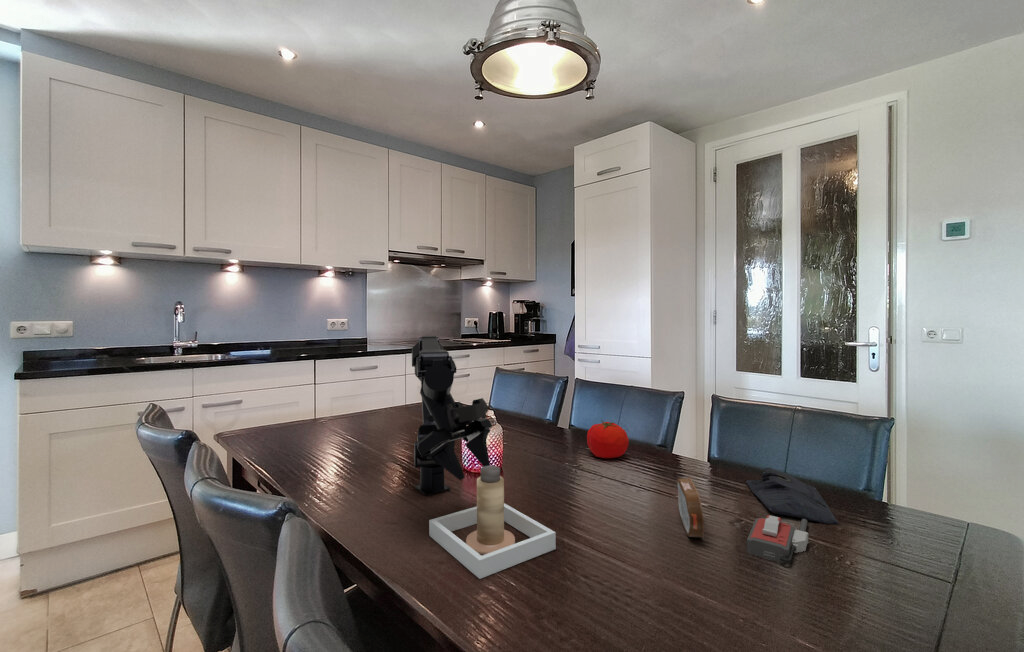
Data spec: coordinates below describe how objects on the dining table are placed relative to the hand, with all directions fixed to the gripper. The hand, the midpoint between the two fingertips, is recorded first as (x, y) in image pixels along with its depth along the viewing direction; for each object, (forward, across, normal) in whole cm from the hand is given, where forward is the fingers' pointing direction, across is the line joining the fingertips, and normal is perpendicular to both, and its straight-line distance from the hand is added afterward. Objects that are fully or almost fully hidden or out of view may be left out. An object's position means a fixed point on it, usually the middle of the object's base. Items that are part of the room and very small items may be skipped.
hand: (475, 473), depth 94 cm
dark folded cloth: (+39, +44, -40) cm, 71 cm away
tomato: (+11, +56, -3) cm, 57 cm away
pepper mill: (+12, -5, 0) cm, 13 cm away
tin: (+30, +20, -25) cm, 43 cm away
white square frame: (+12, -5, 0) cm, 13 cm away
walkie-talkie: (+39, +22, -38) cm, 58 cm away
